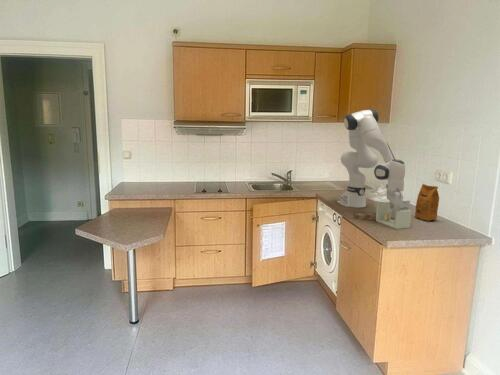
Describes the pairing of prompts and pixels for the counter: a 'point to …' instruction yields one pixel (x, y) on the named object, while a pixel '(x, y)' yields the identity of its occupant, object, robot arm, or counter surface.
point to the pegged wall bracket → (400, 220)
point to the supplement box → (401, 208)
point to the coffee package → (427, 203)
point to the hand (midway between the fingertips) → (393, 210)
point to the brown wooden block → (364, 216)
